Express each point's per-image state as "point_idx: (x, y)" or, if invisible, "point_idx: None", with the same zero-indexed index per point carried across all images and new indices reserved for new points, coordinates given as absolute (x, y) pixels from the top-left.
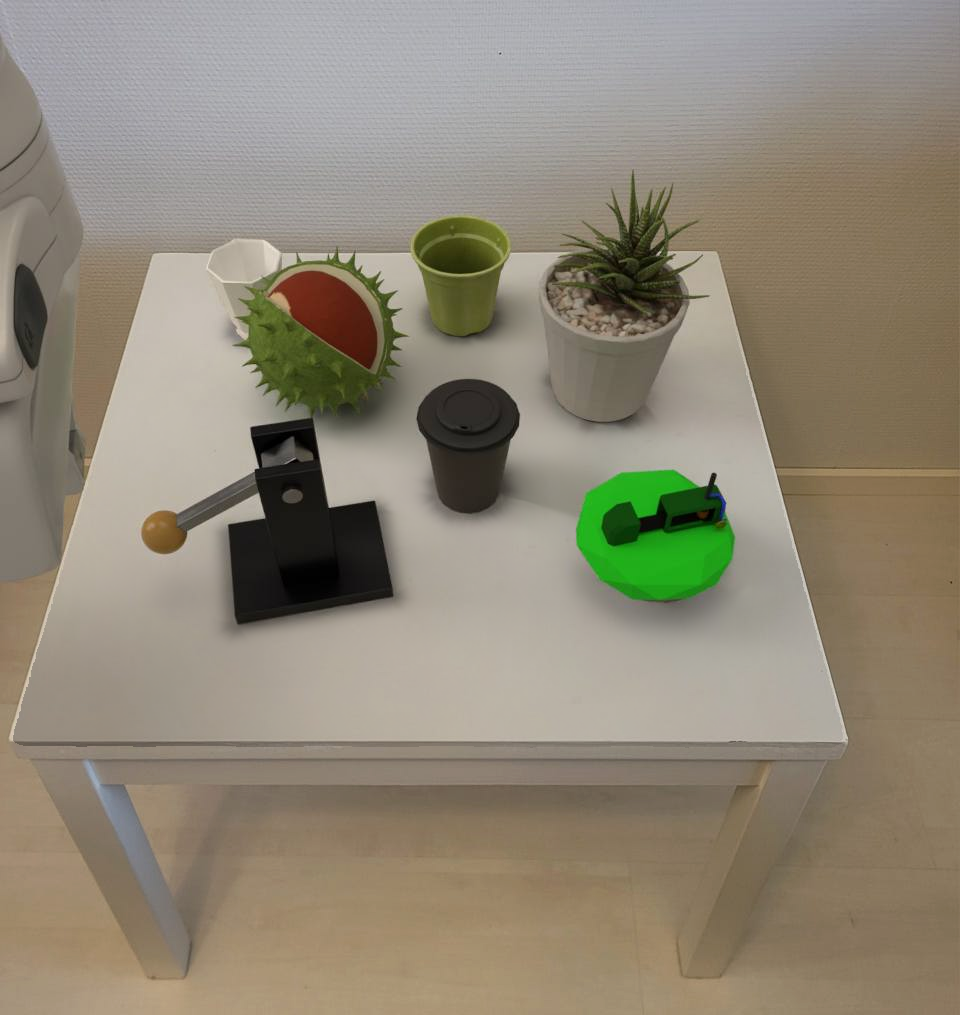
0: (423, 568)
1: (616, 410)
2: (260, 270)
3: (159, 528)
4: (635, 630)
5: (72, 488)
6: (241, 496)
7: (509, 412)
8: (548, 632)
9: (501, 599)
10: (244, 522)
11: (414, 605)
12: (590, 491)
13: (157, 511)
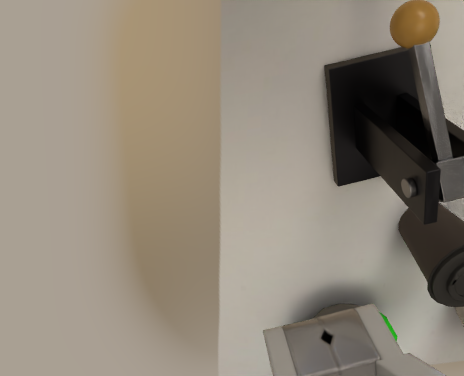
0: (356, 197)
1: (460, 313)
2: None
3: (414, 30)
4: (289, 314)
5: (271, 368)
6: (427, 123)
7: (461, 303)
8: (292, 272)
9: (321, 246)
10: None
11: (324, 195)
12: (385, 321)
13: (438, 20)
